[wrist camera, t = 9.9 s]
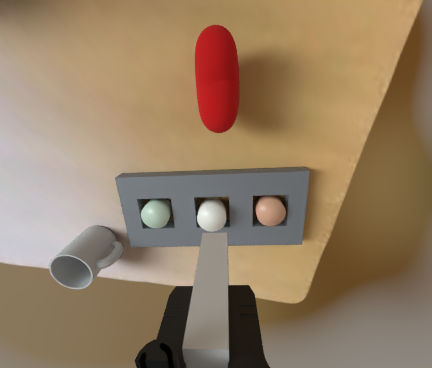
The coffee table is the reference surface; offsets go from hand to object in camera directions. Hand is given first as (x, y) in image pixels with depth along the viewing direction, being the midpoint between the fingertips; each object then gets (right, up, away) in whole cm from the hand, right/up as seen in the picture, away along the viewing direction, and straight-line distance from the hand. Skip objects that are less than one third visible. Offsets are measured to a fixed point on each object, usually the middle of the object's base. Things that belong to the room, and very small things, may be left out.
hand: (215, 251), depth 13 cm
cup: (-22, -7, +30) cm, 38 cm away
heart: (0, +19, +19) cm, 27 cm away
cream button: (-1, 0, +24) cm, 24 cm away
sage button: (-10, 0, +26) cm, 28 cm away
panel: (-1, 0, +26) cm, 26 cm away
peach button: (+9, 0, +25) cm, 27 cm away
